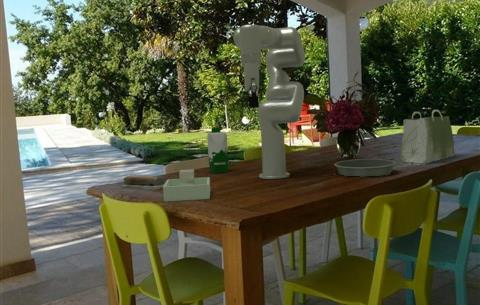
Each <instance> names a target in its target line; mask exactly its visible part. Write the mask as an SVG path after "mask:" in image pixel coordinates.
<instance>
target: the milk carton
mask: <svg viewBox="0 0 480 305" xmlns="http://www.w3.org/2000/svg"><path fill="white" fill-rule="evenodd" d="M210 130H211V132H207V135H206V136H207V138H206V139H207V155H208V156H207V157H208V165H209V166H208V167H209V170H210V173H212V174H213V175H215V174H225V173H226V174H227V173H229V146H228V144H229V143H228V135H227V134H228V133H227V132H226V131H221V127H212V128H210Z"/></svg>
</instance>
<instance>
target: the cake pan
mask: <svg viewBox="0 0 480 305" xmlns="http://www.w3.org/2000/svg"><path fill="white" fill-rule="evenodd" d="M396 164H397V162H396V161H395V160H391V159H384V158H383V159H382V158H357V159H356V158H355V159H348V160H347V159H346V160H341V161H337V162H335V163H333V165H334V166H335V167H336V169H337V172H338V175H340V174H341V175H340V176H342V175H344V176H343V177H347V176H360V177H359V178H365V177H364V176H380V175H386V174H389V173H391V172H392V173H393V169H394V166H395V165H396ZM361 176H362V177H361ZM386 176H387V175H386ZM380 177H381V176H380Z"/></svg>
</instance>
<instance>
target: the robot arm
mask: <svg viewBox="0 0 480 305" xmlns="http://www.w3.org/2000/svg"><path fill="white" fill-rule="evenodd" d="M233 42H234V44H235V46H236V47H237V48H239V50H240V64H241V66H243V74H244V75H243V76H244V78H243V79H244V91H245V92H248V107H249V109H257V115H258V116H257V117H258V121H259V127H260V139H261V140H260V141H261V161H262V162H261V164H262V172H261V173H259V174H258V177H259V178H260V179H264V180H277V179H278V180H280V179H285V178H289V177H290V176H291V175H290V173H289V172H288V171H287V172H286V170H287V169H286V146H285V143H286V142H285V133H284V130H283V129H282V127H280V126H279V124H294V123H297V122H298V121H300V118H301V114H302V109H303V105H304V100H305V91H304V87H303V84H302V83H301V82H299V81H290V76H289V75H288V74H287V72H286V71H285V70H283V68H295V67H301V66H303V65H304V64H305V63H306V62H305V61H306V54H305V53H306V52H305V49H304V45H303V41H302V39H301V35H300V33H299V31H298V29H297V28H295V27H293V26H291V27H290V26H287V27H279V28H277V27H276V28H275V27H270V26H266V25H258V24H244V25H241V26H240V27H238V28H236V30H234V33H233ZM264 49H265V50H266V49H267V50H268V49H269V50H268V51H267V52H266V53H265V54H266V55H265V65H266V69H267V73H268V76H269V81H268V85H267V89H266V93H265V99H266V100H263V101H261V102H259V100H260V99H259V95H258V91H259V90H260V68H259V67H260V66H259V64H263V61H262V60H263V58H262V50H264Z"/></svg>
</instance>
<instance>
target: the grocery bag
mask: <svg viewBox="0 0 480 305" xmlns="http://www.w3.org/2000/svg"><path fill="white" fill-rule="evenodd" d="M435 112H437V113H438V114H439V116H434V114H435ZM416 114H418V115H419V116H420V118H414V116H415V115H416ZM402 126H403V127H402V128H403V129H402V132H403V133H402V137H401V138H402V139H401V144H400V151H399V156H398V161H397V163H398V162H414V163H424V164H425V163H428V162H430V161H434V160H438V159H442V158H447V159H449V158H448V157H450V158H452V157H451V156H453V155H454V156H455V141H454V134H453V129H452V124H451V120H450V116H449V115H448V116H442V113H441V111H440V110H439V109H433V110H432V112H431V116H427V117H422V113H421V112H420V111H414V112H413V113H412V115H411V118H406V119H405V118H404V119H403V125H402ZM454 156H453V157H454ZM428 164H429V163H428Z"/></svg>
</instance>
